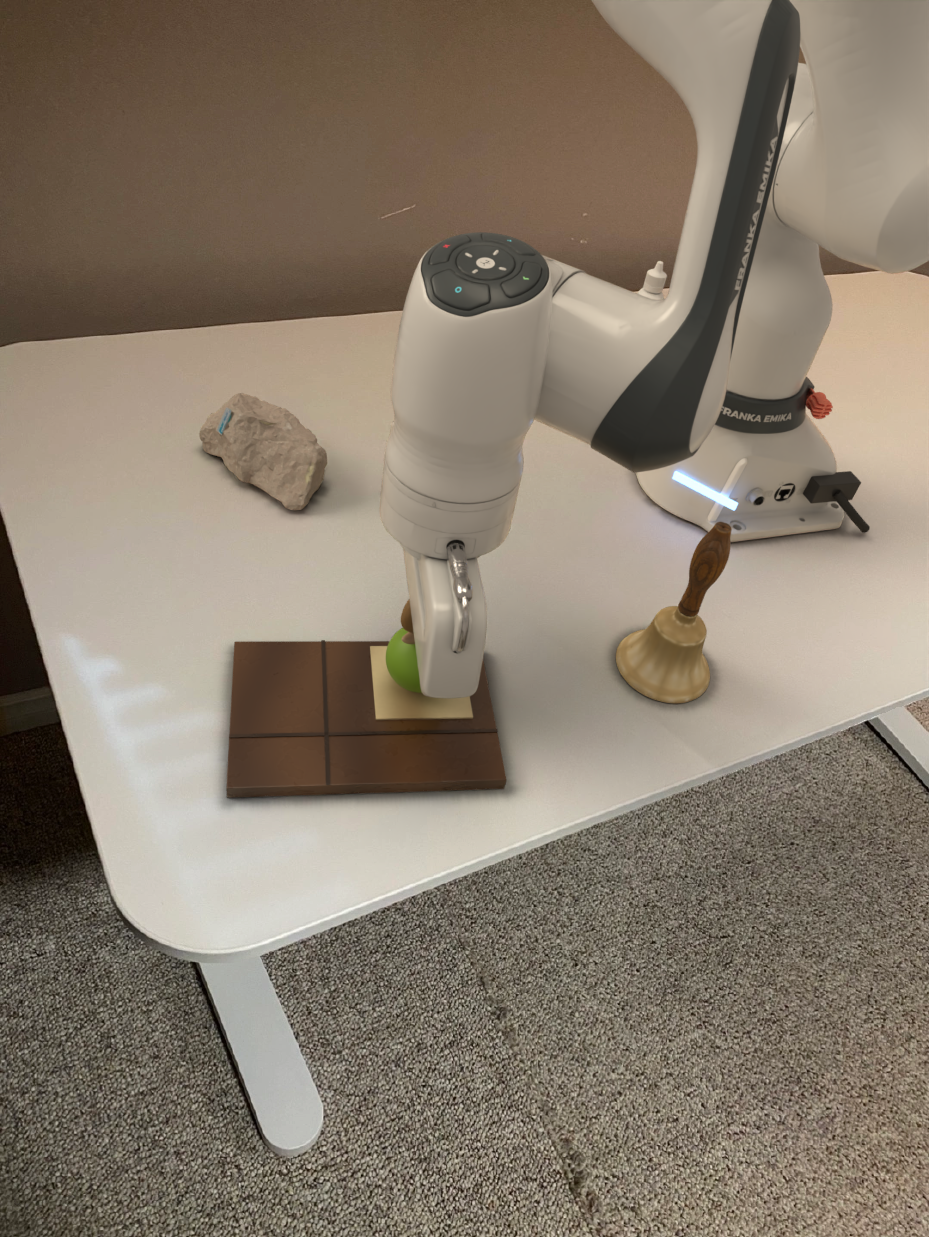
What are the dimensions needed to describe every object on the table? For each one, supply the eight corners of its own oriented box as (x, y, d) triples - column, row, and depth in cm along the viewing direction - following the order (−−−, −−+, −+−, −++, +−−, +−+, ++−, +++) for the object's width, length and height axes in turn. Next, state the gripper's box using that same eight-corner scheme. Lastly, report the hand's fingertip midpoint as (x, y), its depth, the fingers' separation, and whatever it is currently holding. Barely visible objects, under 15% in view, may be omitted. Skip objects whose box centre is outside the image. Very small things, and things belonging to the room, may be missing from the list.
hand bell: (724, 700, 79) (797, 559, 67) (633, 707, 77) (693, 563, 65) (688, 629, 84) (750, 488, 73) (602, 634, 82) (653, 490, 71)
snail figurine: (473, 676, 75) (497, 565, 66) (418, 718, 71) (436, 606, 62) (424, 639, 77) (442, 527, 68) (368, 678, 73) (379, 564, 65)
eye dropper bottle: (660, 354, 120) (688, 264, 112) (634, 366, 117) (660, 274, 109) (634, 339, 122) (660, 250, 114) (607, 350, 119) (632, 259, 111)
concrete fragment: (283, 521, 87) (283, 468, 83) (192, 450, 93) (188, 397, 88) (340, 492, 91) (342, 441, 87) (249, 426, 97) (248, 374, 93)
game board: (477, 650, 79) (480, 639, 78) (504, 789, 69) (507, 778, 68) (235, 651, 75) (234, 639, 74) (227, 798, 65) (226, 786, 64)
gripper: (522, 609, 54) (485, 751, 64) (474, 412, 68) (450, 553, 78) (415, 608, 53) (394, 753, 63) (388, 408, 67) (375, 552, 77)
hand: (425, 641), depth 70 cm, fingers closed on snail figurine, 3 cm apart
